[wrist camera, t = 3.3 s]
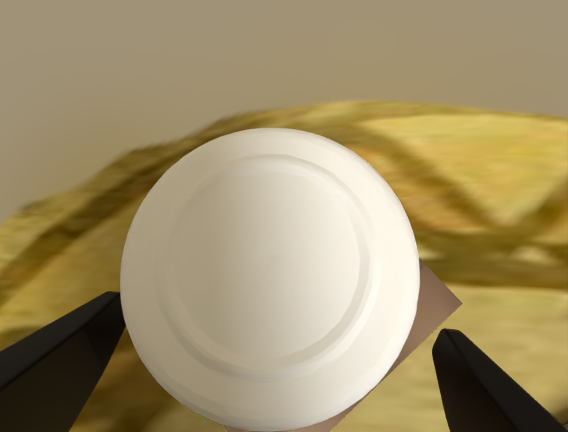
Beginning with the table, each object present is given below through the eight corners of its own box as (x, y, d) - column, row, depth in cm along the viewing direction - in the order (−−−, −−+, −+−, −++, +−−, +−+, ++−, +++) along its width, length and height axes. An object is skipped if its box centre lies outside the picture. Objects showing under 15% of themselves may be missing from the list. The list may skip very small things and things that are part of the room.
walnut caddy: (272, 447, 15) (266, 492, 11) (157, 273, 17) (124, 267, 14) (428, 301, 16) (462, 303, 13) (300, 164, 19) (301, 135, 16)
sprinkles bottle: (244, 320, 16) (55, 407, 4) (257, 244, 18) (154, 101, 5) (322, 334, 16) (430, 484, 3) (330, 255, 17) (434, 131, 4)
